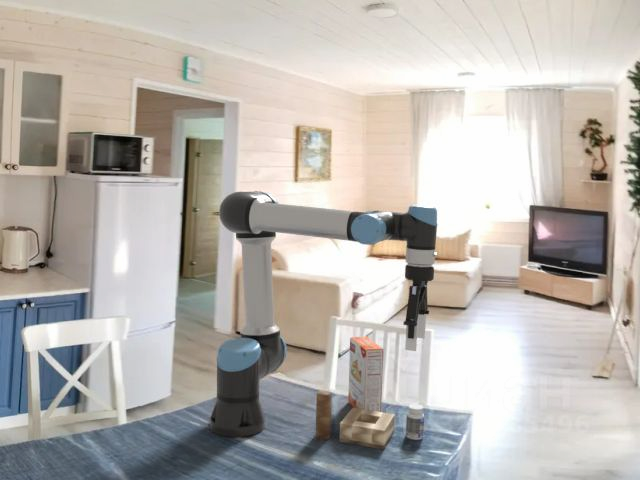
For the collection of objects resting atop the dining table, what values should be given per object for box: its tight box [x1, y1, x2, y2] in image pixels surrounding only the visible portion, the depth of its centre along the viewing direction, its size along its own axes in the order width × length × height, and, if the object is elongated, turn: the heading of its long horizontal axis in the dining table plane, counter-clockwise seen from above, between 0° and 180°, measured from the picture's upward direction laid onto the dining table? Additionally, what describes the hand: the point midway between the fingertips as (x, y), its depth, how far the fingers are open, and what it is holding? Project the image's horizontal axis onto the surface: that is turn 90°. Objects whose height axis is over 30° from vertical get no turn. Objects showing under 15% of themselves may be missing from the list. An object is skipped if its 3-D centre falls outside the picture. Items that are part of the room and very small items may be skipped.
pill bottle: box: [405, 403, 425, 441], centre depth 161 cm, size 5×5×8 cm
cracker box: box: [347, 336, 384, 412], centre depth 178 cm, size 14×6×21 cm, turn 16°
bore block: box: [338, 407, 396, 450], centre depth 160 cm, size 12×12×5 cm
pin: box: [314, 390, 333, 441], centre depth 159 cm, size 4×4×12 cm
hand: (415, 343), depth 158 cm, fingers open, 13 cm apart
